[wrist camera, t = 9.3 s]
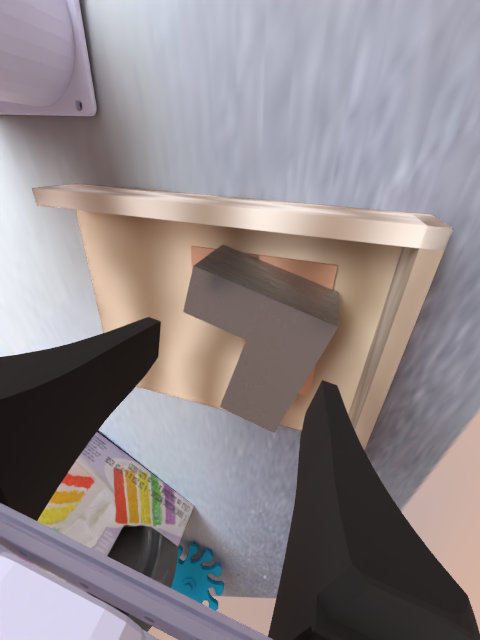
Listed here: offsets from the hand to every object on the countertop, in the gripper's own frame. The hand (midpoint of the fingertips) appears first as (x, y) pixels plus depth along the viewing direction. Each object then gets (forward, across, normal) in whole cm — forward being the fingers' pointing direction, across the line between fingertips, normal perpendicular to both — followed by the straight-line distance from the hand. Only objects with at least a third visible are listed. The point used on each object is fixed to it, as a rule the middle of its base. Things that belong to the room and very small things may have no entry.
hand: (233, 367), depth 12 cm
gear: (+9, 0, +46) cm, 47 cm away
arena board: (+9, +3, +4) cm, 11 cm away
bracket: (+8, 0, +3) cm, 9 cm away
